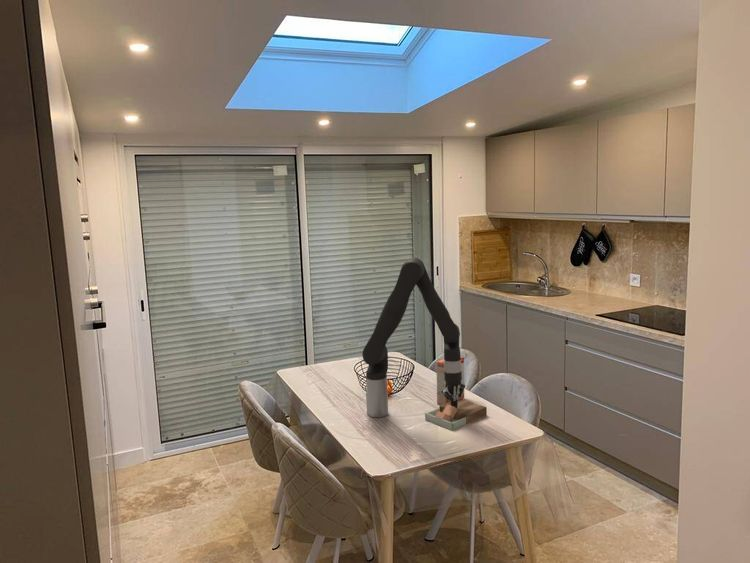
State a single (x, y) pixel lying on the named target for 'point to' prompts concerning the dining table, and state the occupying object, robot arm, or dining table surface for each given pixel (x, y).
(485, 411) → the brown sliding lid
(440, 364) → the cracker box
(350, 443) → the dining table surface
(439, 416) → the tile
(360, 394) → the dining table surface
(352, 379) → the dining table surface
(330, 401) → the dining table surface
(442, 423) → the tray
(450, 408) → the tile
